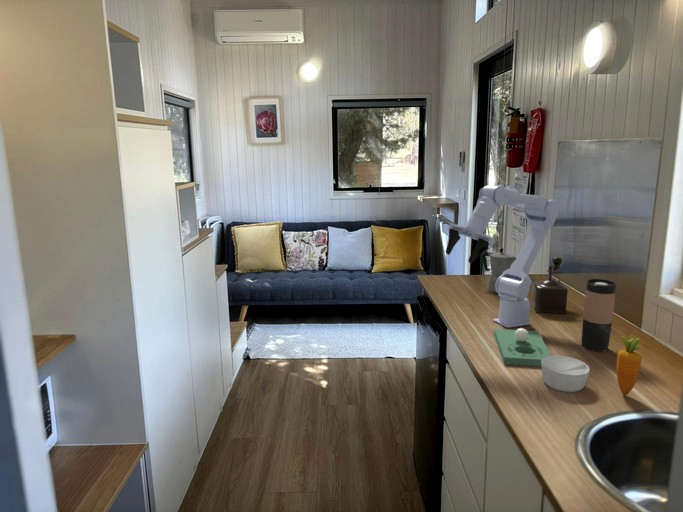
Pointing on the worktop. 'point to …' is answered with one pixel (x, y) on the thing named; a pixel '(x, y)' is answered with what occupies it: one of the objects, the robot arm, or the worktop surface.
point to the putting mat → (521, 348)
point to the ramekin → (564, 373)
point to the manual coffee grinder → (550, 293)
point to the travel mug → (598, 314)
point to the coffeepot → (497, 265)
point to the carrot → (628, 365)
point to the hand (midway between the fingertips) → (458, 257)
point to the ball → (521, 334)
